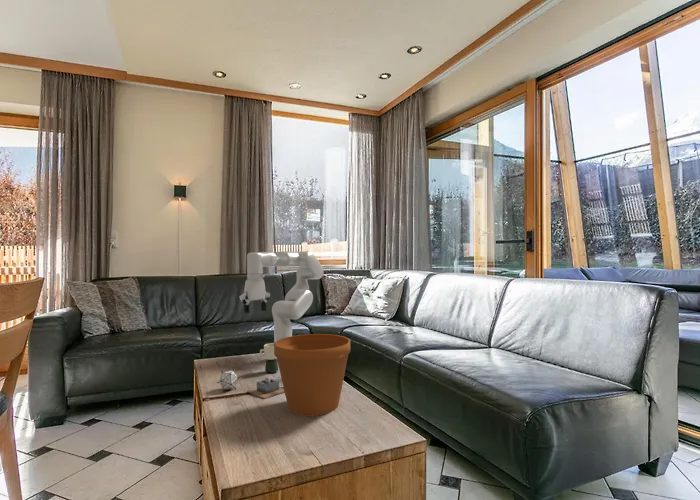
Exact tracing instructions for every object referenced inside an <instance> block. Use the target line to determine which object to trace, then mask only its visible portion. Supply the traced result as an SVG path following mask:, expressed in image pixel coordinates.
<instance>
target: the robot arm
mask: <svg viewBox="0 0 700 500" xmlns="http://www.w3.org/2000/svg"><path fill="white" fill-rule="evenodd" d="M265 267H266V268H268V267H269V268H271V267H277V268H289V267H297V269H296V282H295V284H294V285H293V287H291V288H290V290H289V291H288V292H287V293H286V294H285V297H284V300H278V301H276V302H274V303H273V305H272V307H271V314H272V319H273V329H274V331H273V337H274V338H273V341H274V342H273V343H275V342H276V341H277V340H279V339H282V338H286V337H291V336H293V325H292V322H291V320H299V319H300V318H302V317H303V315H304V314H305V313H306V312H307V310H309V308H310V307H311V306H312V303H313V301H314V295H313V292H312V291H311V290H310V285H309V282H308V280H320V279H321V278H322V277H324V269H323V268H324V267H323V266H322V264H321V263H320V261H319V260H318V258H317V257H316V256H315V254H314V253H312V252H311V251H309V250H308V251H307V250H305V251H290V250H289V251H288V250H287V251H286V250H285V251H283V250H282V251H272V252H271V251H259V252H258V251H256V252H248V253H247V255H246V270H247V271H246V273H247V274H246V275H247V278H246V279H245V283H244V290H243V293H242V294H241V295H239V296H238V297H239V299H240V301H241V303H242V305H244V306H243V307H244V310H243V311H244V313H245V314H250V302H252V301H259V300H260V301H261V305H260V307H261V309H260V310H261V311H262V312H266V311H267V303H268V301H269V300H270V297H271V293H270V292H268V291H266V284H265V279H264V278H265V276H266V275H265V274H264V268H265ZM277 363H278V361H277Z"/></svg>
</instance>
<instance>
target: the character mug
mask: <svg viewBox="0 0 700 500" xmlns="http://www.w3.org/2000/svg"><path fill="white" fill-rule="evenodd" d="M259 356H260V357H263V358H264V359H265V361H266V362H265V368H264V371H265V372H266V373H276V372H279V366H278V362H277V357H275V355H274V342H272V343H271V342H270V343H265V344H264V345H263V348H261V349H259Z"/></svg>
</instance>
